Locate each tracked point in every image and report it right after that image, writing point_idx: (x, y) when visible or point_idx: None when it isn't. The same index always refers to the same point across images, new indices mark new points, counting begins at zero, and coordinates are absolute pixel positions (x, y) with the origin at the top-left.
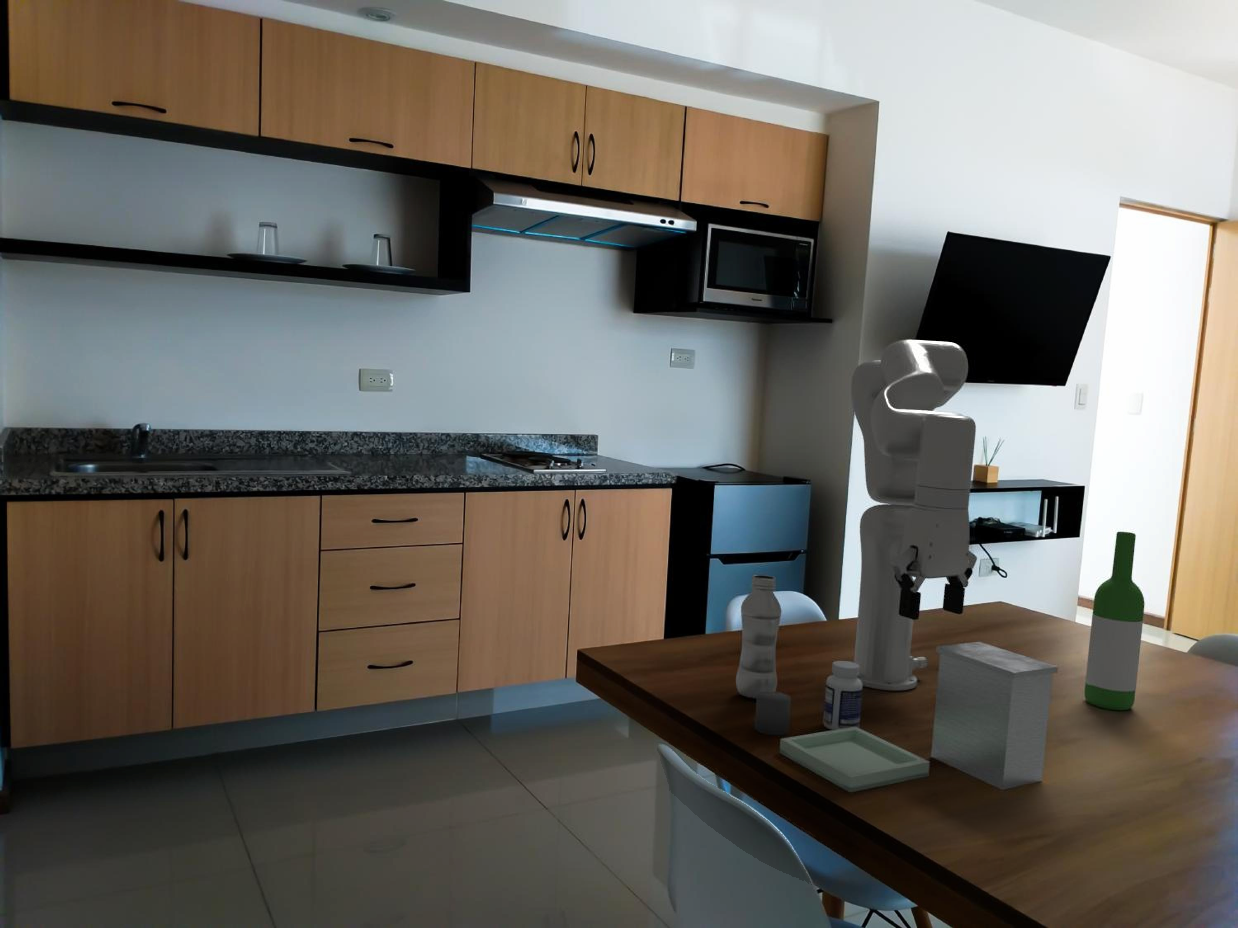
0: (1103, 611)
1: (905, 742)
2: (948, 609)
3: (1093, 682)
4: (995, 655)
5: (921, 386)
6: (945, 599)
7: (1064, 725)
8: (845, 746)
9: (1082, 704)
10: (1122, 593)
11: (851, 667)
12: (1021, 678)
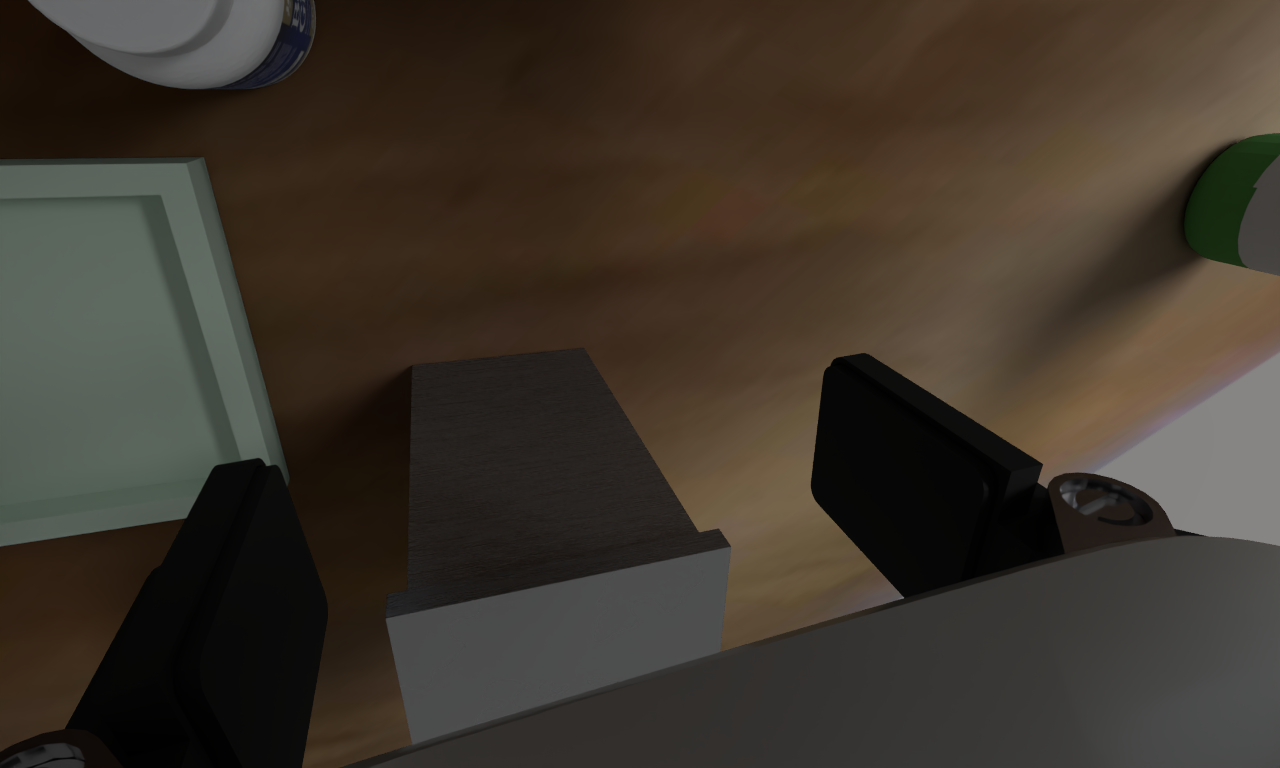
0: None
1: (412, 243)
2: (826, 416)
3: (1262, 197)
4: None
5: None
6: (875, 421)
7: (982, 280)
8: (79, 242)
9: (1182, 169)
10: None
11: (109, 34)
12: None
